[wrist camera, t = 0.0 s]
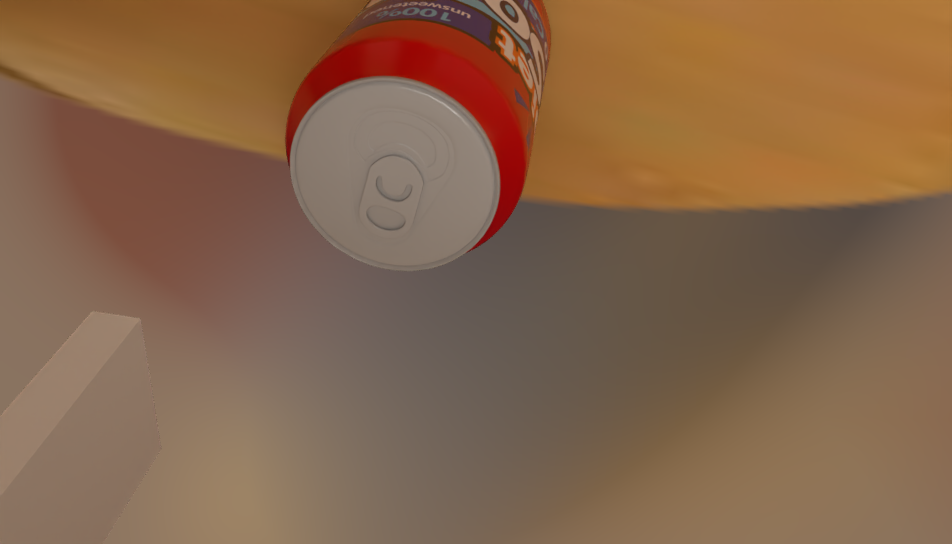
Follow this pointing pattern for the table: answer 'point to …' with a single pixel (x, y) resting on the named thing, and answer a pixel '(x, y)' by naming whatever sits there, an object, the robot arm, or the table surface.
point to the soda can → (419, 128)
